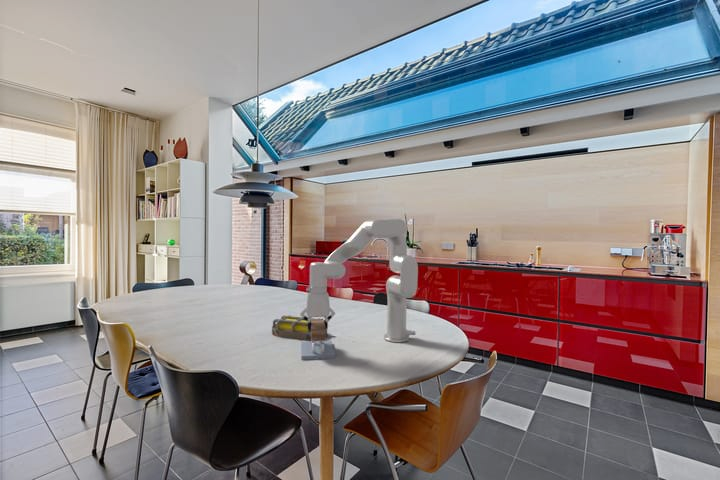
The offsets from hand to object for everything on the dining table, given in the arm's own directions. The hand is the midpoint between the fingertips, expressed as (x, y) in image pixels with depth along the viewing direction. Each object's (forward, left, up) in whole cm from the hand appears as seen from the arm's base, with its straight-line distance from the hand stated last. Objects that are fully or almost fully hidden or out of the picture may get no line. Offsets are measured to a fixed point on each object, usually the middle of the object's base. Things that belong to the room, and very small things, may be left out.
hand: (317, 330), depth 145 cm
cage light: (+8, -26, -10) cm, 29 cm away
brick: (0, 0, -2) cm, 2 cm away
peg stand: (0, 0, -9) cm, 9 cm away
